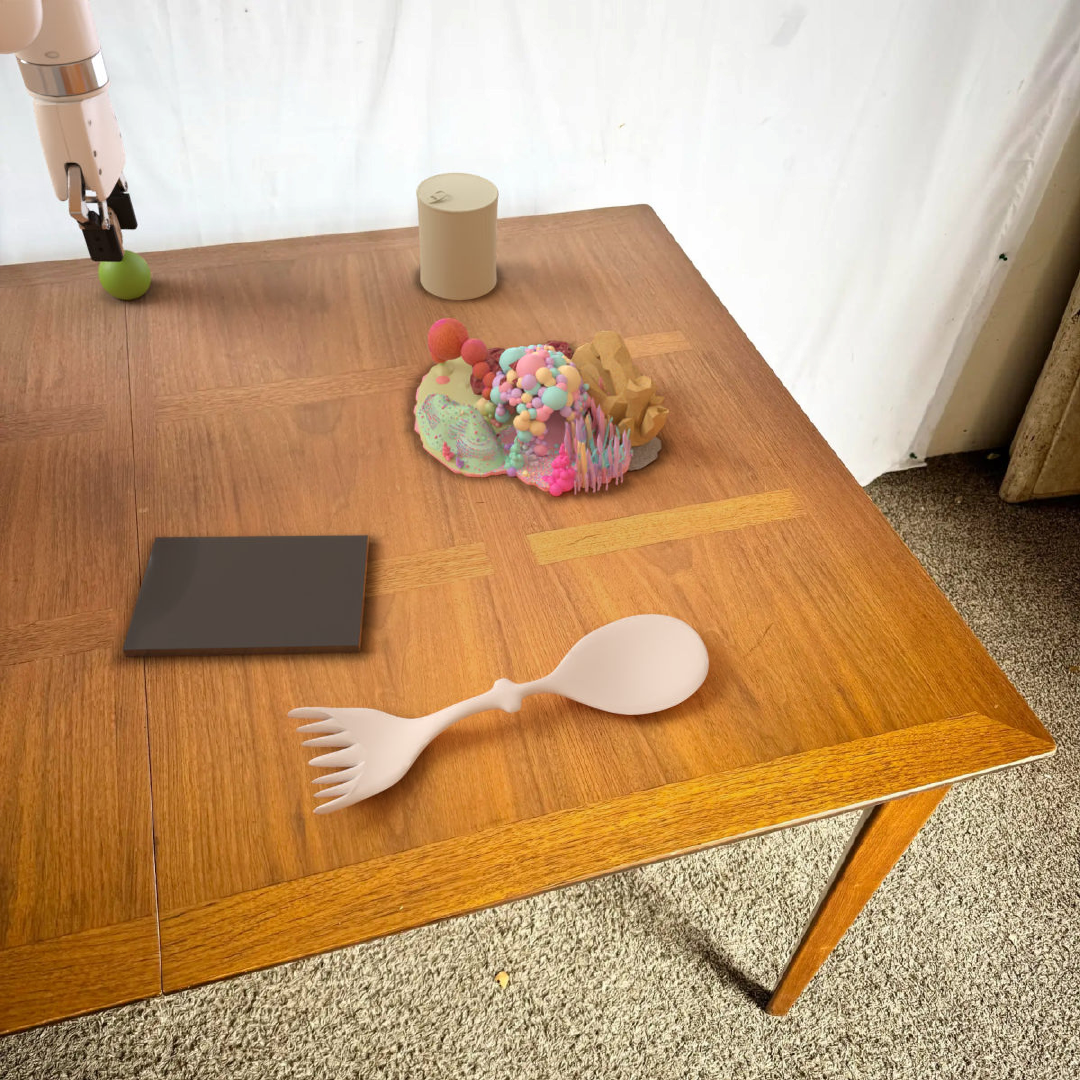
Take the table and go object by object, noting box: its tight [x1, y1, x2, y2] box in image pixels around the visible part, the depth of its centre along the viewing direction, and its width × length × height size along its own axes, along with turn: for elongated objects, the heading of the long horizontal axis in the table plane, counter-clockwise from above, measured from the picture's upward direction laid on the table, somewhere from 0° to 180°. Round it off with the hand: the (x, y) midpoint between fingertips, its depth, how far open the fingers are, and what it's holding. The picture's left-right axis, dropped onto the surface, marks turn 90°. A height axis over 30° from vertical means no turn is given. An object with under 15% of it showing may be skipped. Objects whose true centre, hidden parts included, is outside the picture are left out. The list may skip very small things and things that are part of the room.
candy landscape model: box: [413, 317, 670, 497], centre depth 94 cm, size 25×24×9 cm
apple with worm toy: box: [97, 207, 152, 301], centre depth 105 cm, size 5×6×12 cm
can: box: [415, 172, 499, 301], centre depth 110 cm, size 9×9×12 cm
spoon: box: [286, 613, 710, 815], centre depth 72 cm, size 9×32×4 cm, turn 112°
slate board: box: [122, 534, 370, 658], centre depth 79 cm, size 18×12×2 cm, turn 94°
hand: (115, 242), depth 104 cm, fingers closed on apple with worm toy, 6 cm apart
